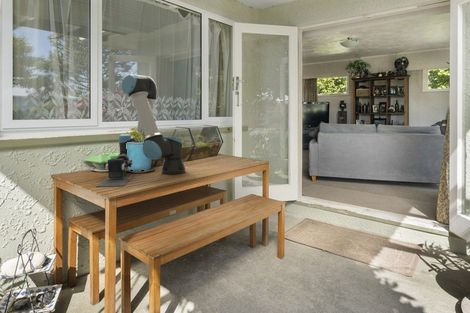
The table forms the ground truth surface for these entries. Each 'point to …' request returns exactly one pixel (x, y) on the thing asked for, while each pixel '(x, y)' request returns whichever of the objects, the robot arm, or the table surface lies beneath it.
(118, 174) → the box
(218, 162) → the table surface
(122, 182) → the felt mat
